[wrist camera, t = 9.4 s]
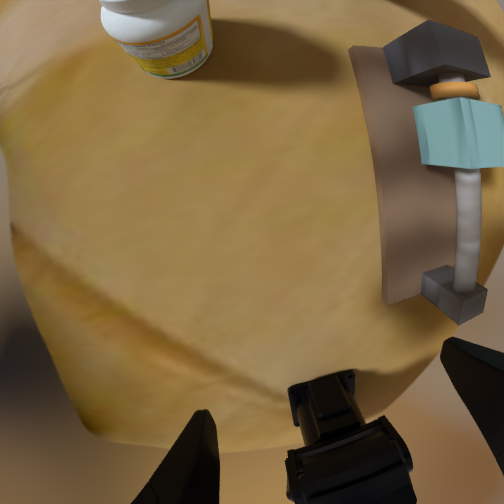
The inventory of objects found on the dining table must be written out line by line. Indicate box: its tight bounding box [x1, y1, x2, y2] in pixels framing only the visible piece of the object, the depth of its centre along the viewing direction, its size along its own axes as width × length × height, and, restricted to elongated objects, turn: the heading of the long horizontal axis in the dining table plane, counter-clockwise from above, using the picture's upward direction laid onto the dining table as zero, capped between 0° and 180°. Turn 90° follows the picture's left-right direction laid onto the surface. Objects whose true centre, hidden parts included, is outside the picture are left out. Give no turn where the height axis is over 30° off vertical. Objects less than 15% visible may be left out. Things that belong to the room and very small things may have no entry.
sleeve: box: [412, 97, 504, 169], centre depth 13 cm, size 4×5×5 cm
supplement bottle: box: [99, 0, 213, 79], centre depth 10 cm, size 5×5×10 cm
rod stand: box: [348, 20, 491, 325], centre depth 15 cm, size 20×10×7 cm, turn 11°
